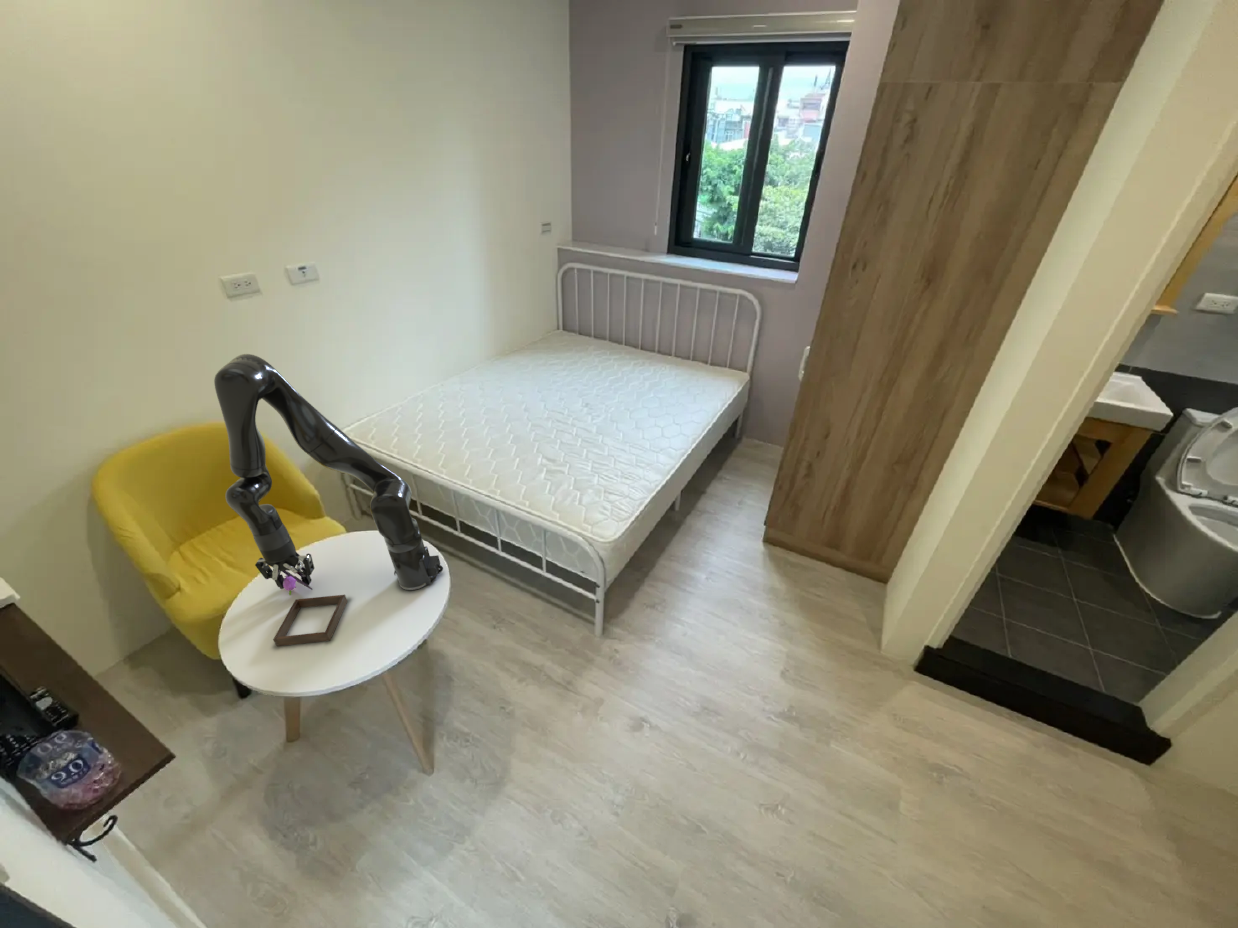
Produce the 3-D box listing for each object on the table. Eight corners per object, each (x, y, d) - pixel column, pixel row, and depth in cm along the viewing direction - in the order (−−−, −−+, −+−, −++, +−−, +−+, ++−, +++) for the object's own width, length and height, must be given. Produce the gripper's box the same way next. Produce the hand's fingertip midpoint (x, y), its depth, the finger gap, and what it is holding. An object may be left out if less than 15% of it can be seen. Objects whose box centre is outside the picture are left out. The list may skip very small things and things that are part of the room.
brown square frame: (347, 601, 142) (344, 594, 141) (330, 640, 131) (327, 633, 130) (298, 605, 141) (295, 599, 140) (276, 646, 130) (272, 639, 128)
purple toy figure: (300, 575, 140) (280, 565, 144) (285, 591, 138) (265, 580, 142) (315, 586, 146) (296, 576, 149) (301, 602, 143) (281, 591, 147)
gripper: (238, 552, 132) (263, 597, 141) (296, 547, 134) (317, 592, 143) (252, 534, 139) (275, 578, 148) (307, 529, 140) (327, 573, 149)
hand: (296, 585), depth 145 cm, fingers closed on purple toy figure, 6 cm apart
